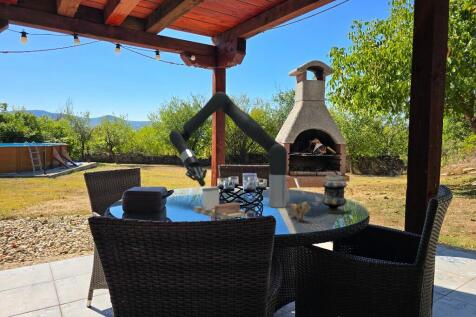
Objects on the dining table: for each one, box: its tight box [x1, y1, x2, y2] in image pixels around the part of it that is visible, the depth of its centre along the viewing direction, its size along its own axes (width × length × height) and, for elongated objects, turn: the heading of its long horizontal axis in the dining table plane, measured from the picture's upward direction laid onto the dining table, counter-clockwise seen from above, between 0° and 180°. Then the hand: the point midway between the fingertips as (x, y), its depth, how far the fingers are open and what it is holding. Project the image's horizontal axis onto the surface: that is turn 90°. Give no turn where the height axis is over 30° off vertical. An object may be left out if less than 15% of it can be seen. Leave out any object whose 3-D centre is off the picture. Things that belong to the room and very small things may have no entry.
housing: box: [193, 201, 246, 220], centre depth 164 cm, size 24×12×6 cm, turn 43°
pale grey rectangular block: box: [201, 186, 220, 209], centre depth 168 cm, size 3×8×10 cm, turn 132°
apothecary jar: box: [320, 174, 348, 215], centre depth 169 cm, size 12×12×18 cm
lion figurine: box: [287, 201, 312, 223], centre depth 153 cm, size 15×5×9 cm, turn 26°
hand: (203, 185), depth 172 cm, fingers closed
